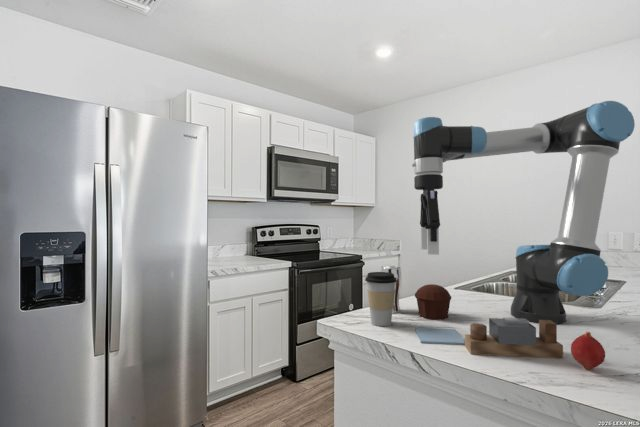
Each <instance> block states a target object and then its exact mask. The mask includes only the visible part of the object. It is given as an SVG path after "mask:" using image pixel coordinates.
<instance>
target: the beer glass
mask: <svg viewBox="0 0 640 427" xmlns="http://www.w3.org/2000/svg"><path fill="white" fill-rule="evenodd" d="M380 268H381V269H380V270H381V271H380V272H388V273H393V274H394V277H395V278H396V282H395V288H394V290H395V293H394V304H393V309H392V314H396V313H400V312H401V308H400V307H401V306H400V295H401V294H400V292H401V288H402V270H401V266H398V265H397V266H395V265H383V266H381V267H380Z"/></svg>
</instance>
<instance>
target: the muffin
mask: <svg viewBox="0 0 640 427" xmlns="http://www.w3.org/2000/svg"><path fill="white" fill-rule="evenodd" d="M414 298H416V303H417V310H418V315H419V317H420V318H422V317H423V318H422V319H425V320H432V321H444V320H445V319H448V316H449V312H450V305H451V301H452V300H451V299H453V298H452V295H451V294H450V292H449V291H448V290H447V289H446V288H445V287H443V286H442V285H438V284H431V283H430V284H425V285H422V286H421V287H419V288H417V291H416V292H415V294H414Z"/></svg>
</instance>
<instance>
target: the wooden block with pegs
mask: <svg viewBox="0 0 640 427" xmlns="http://www.w3.org/2000/svg"><path fill="white" fill-rule="evenodd" d="M557 324H558V323H554V322H552V321H551V320H539V323H538V330H539V331H538V332H539V333H538V334H539V335H538V336H536V345H520V344H499V343H498V342H497V341H496V340H495V339H494V338H493V337H492V336H491V335H489V334H488V327H487V325H486V324H483V323H478V322H477V323H476V322H475V323H470V326H469V328H470V329H469V330H470V332H469V333H470V334H469V333H468V334H467V333H465V334H464V341H465V345H464V348H466V350H467V351H468V352H469V354H470V355H481V356H482V355H484V356H503V357H523V358H526V357H527V358H543V359H544V358H547V359H548V358H549V359H564V345H563V344H562V343H561V342H559V341H558V338H557V335H558V334H557V330H558V328H557V326H558V325H557Z"/></svg>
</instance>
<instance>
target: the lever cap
mask: <svg viewBox="0 0 640 427" xmlns="http://www.w3.org/2000/svg"><path fill="white" fill-rule="evenodd" d="M488 329H489V330H488V333H489V334H488V335H491V336H492V337H493V338H494V339H495V340H496V341H497V342H498V343H499V344H520V345H536V337H537V327H536V326H534V325H532V324H531V323H530V321H528V320H527V319H523V318H516V317H502V318H495V317H493V318H491V317H489V318H488Z"/></svg>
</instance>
